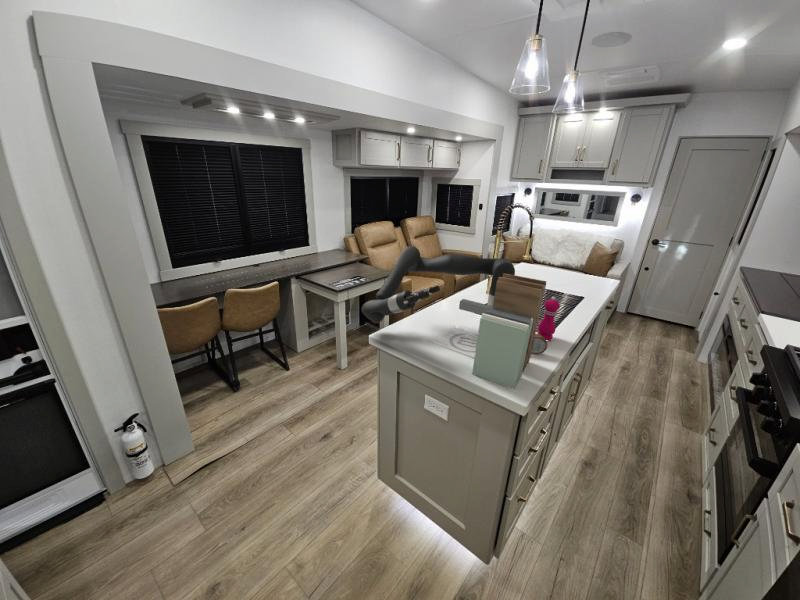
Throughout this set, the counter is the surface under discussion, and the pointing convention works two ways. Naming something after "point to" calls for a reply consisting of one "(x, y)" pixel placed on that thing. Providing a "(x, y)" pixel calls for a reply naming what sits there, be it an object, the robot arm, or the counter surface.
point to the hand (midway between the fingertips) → (433, 290)
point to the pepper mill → (549, 319)
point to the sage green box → (501, 350)
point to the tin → (539, 344)
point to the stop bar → (494, 311)
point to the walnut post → (521, 300)
